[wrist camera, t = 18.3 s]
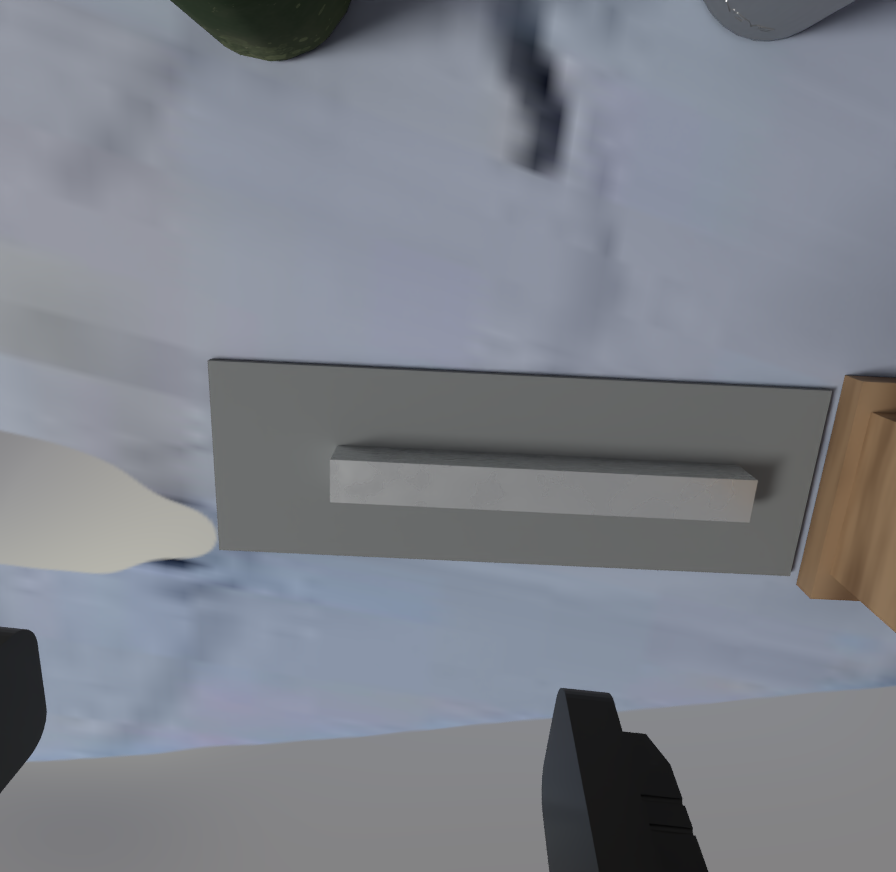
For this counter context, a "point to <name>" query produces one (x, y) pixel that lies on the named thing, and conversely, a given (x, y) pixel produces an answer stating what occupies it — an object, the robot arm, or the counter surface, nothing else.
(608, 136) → the counter surface
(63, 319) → the counter surface
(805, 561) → the brown tall ridged block
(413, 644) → the counter surface
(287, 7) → the green bottle
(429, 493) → the steel bar
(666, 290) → the counter surface
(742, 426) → the rubber mat
